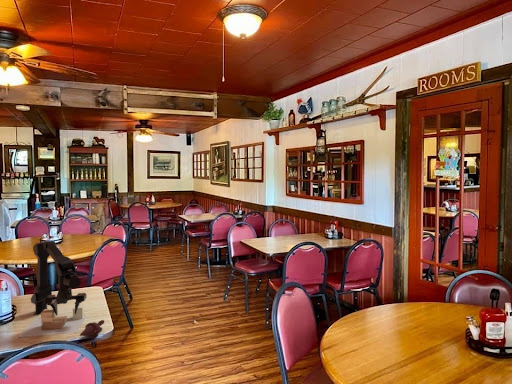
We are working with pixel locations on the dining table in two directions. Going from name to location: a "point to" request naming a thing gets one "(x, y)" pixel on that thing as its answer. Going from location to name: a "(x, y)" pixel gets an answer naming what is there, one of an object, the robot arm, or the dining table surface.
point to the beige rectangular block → (78, 312)
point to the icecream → (92, 329)
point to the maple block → (47, 315)
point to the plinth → (55, 323)
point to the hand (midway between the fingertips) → (66, 314)
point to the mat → (36, 330)
